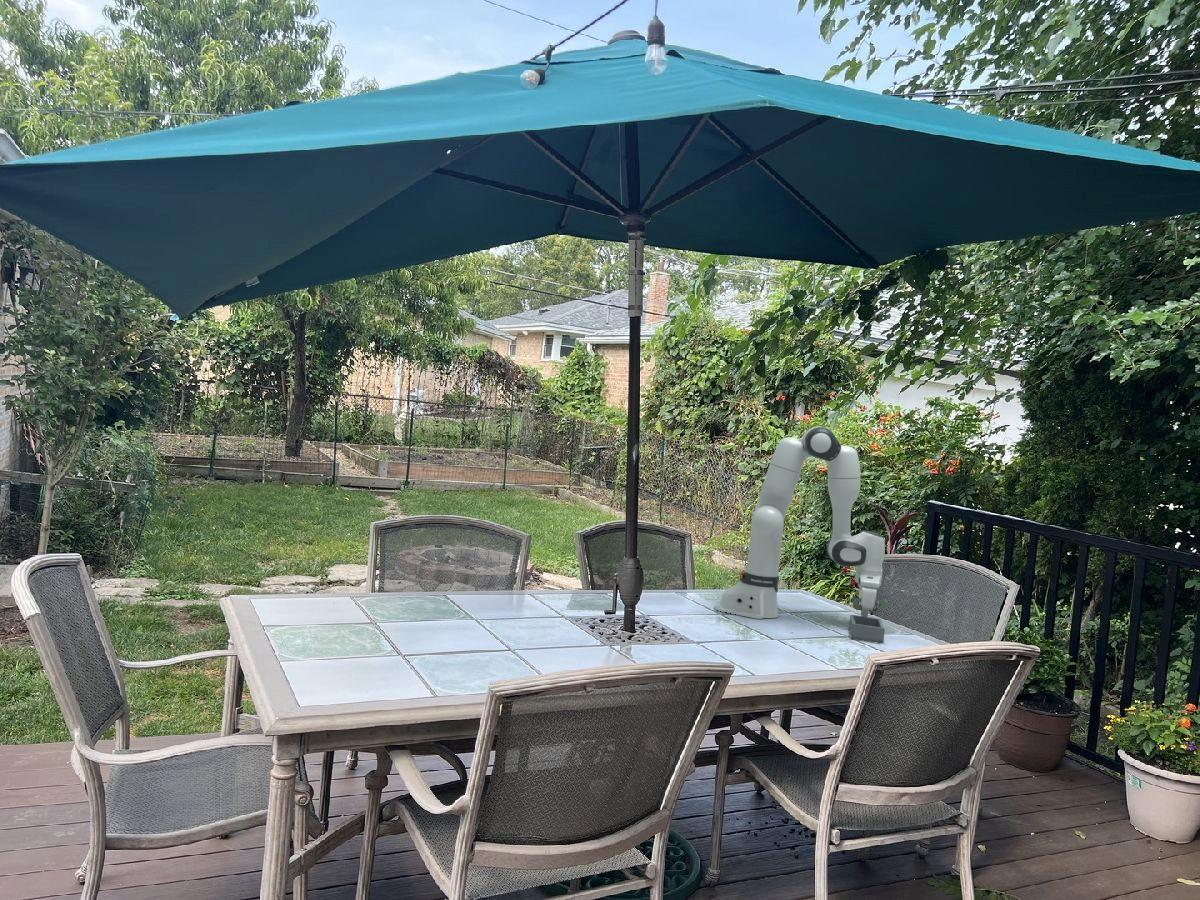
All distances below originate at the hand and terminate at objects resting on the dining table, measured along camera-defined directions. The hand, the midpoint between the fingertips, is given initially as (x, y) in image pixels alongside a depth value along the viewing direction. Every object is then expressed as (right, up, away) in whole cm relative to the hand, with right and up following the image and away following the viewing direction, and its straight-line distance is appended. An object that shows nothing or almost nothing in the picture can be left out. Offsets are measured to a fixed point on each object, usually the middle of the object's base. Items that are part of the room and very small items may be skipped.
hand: (863, 617), depth 295 cm
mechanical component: (0, -4, 0) cm, 4 cm away
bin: (-3, -4, -13) cm, 13 cm away
